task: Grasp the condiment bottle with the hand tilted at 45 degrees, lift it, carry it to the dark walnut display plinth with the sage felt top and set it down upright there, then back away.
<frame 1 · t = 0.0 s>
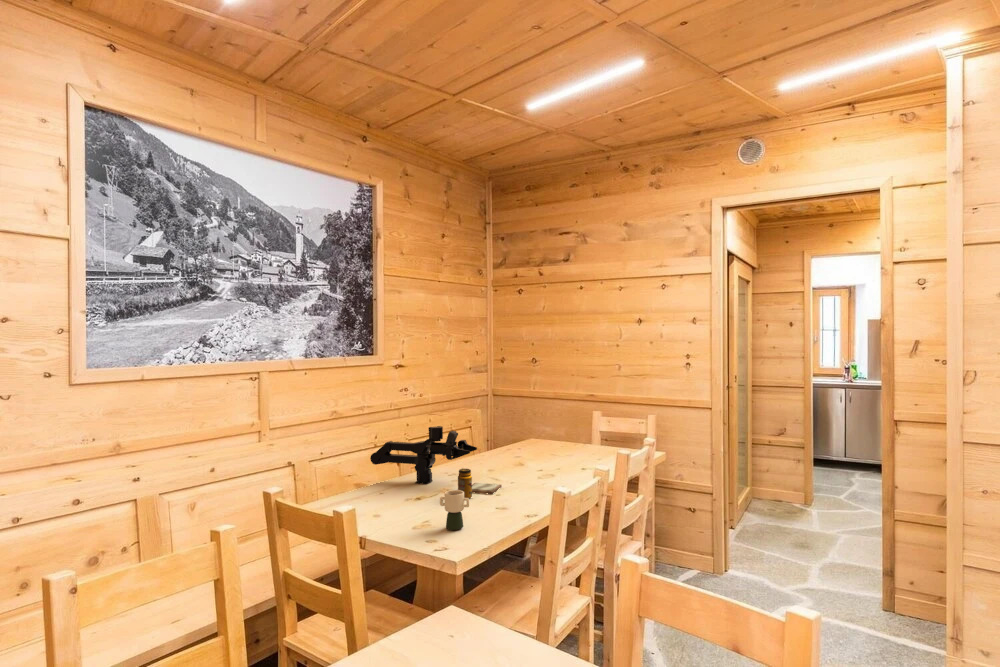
hand: (473, 450, 266), 17 cm above the table, tool horizontal, fingers open, 9 cm apart
plinth: (483, 489, 259), on the table
condiment: (463, 498, 246), on the table
character mug: (454, 529, 205), on the table
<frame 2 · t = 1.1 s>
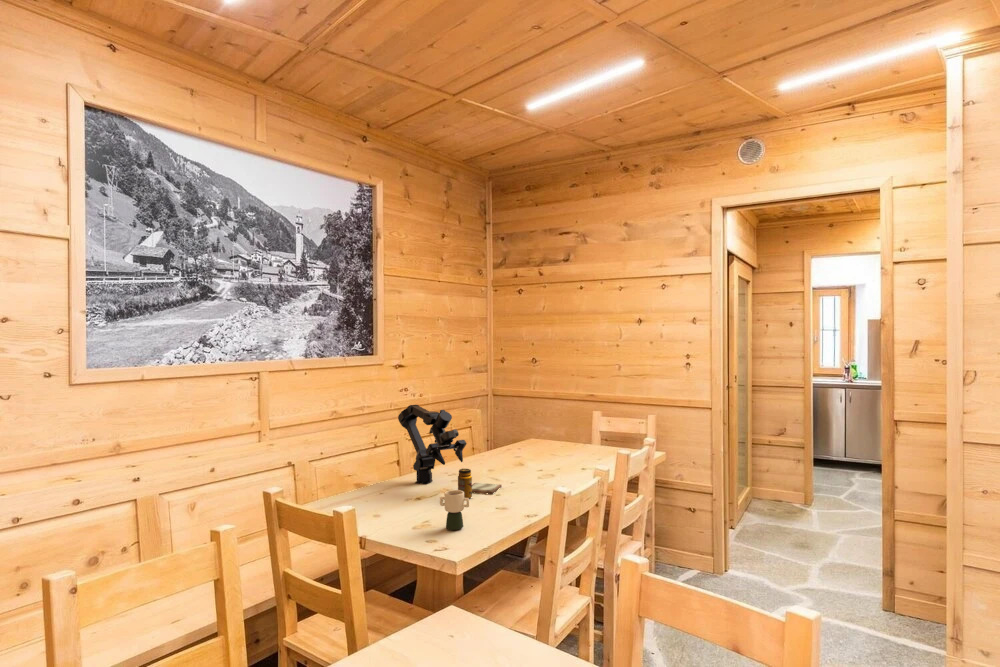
hand: (453, 463, 253), 14 cm above the table, tool tilted 45°, fingers open, 9 cm apart
nothing on the table moved.
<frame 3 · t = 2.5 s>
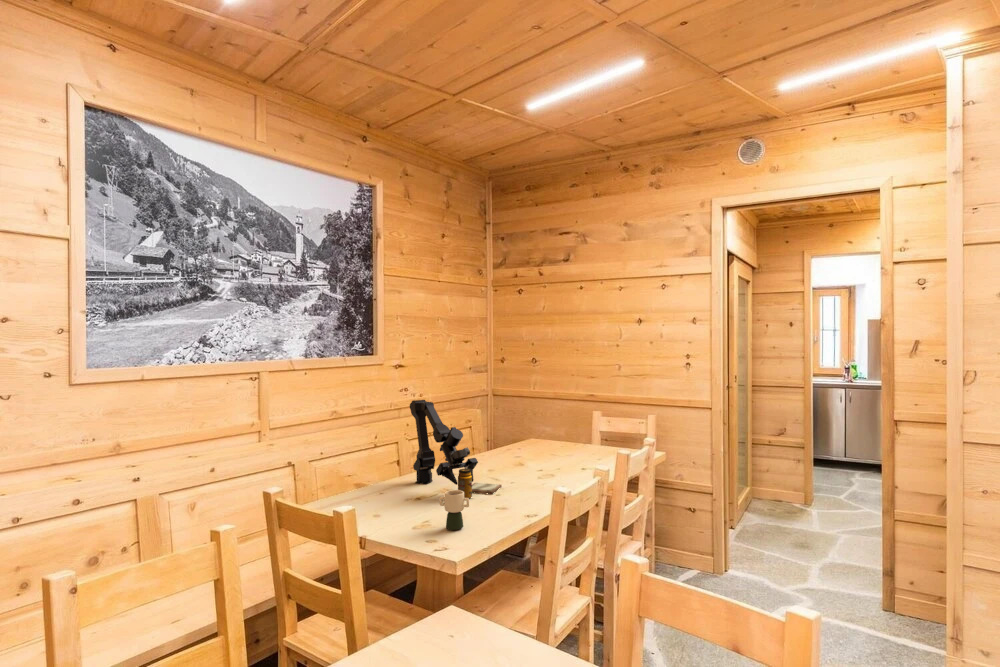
hand: (464, 482, 245), 7 cm above the table, tool tilted 45°, fingers open, 8 cm apart
condiment: (463, 498, 246), on the table, touching gripper
everything else where it was.
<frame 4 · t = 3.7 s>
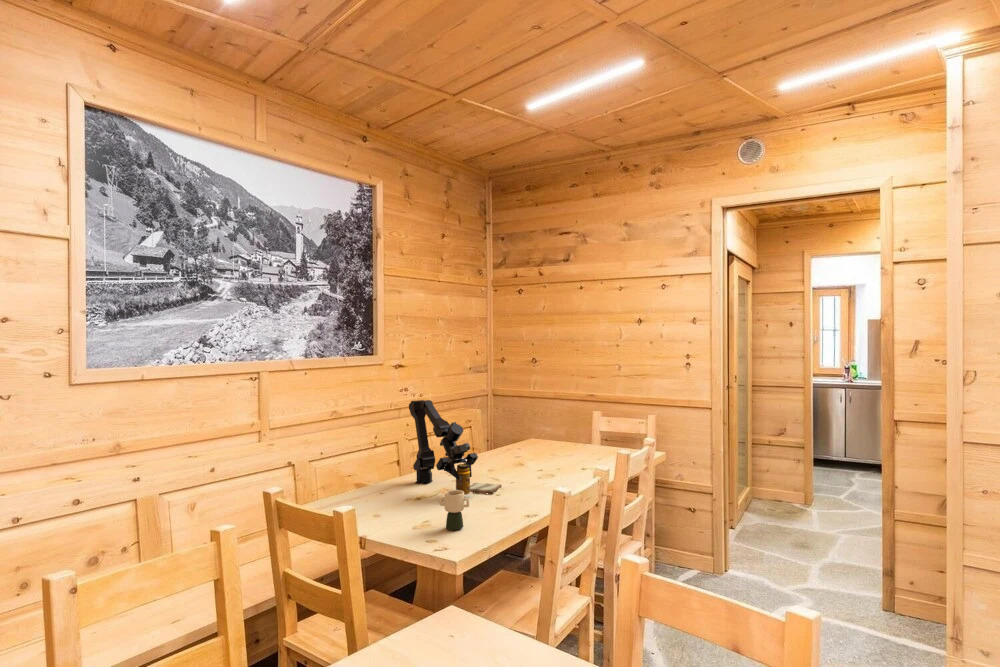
hand: (464, 477, 245), 9 cm above the table, tool tilted 45°, fingers closed on condiment, 6 cm apart
condiment: (461, 493, 246), point 2 cm above the table, touching gripper
everything else where it was.
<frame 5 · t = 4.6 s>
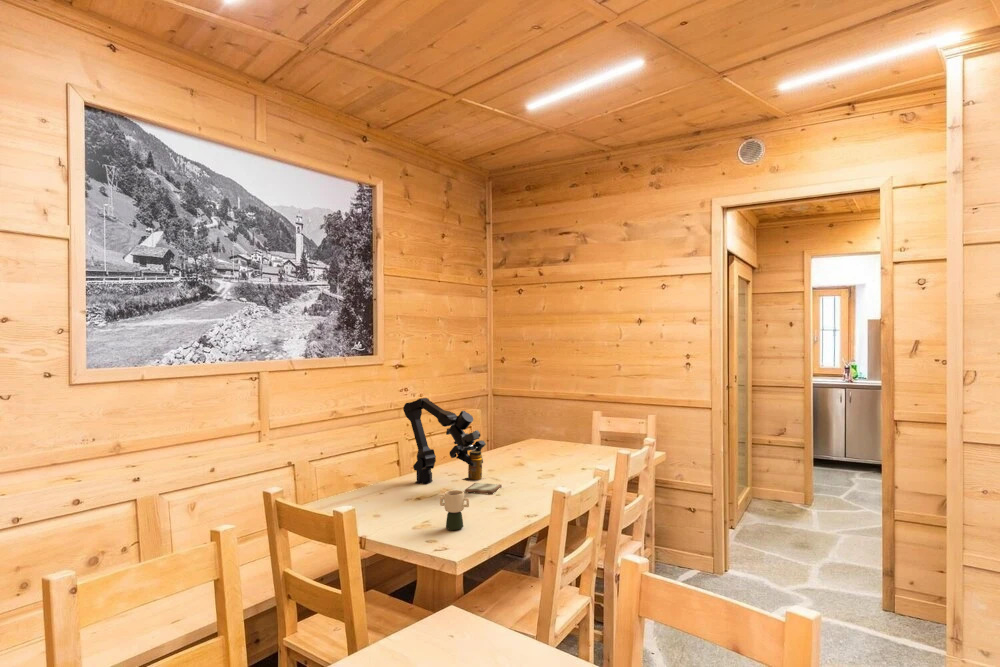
hand: (477, 464, 252), 13 cm above the table, tool tilted 45°, fingers closed on condiment, 6 cm apart
condiment: (473, 479, 252), point 6 cm above the table, touching gripper
everything else where it was.
when the fingers open (9 cm above the table, at t = 6.2 s): condiment drops 1 cm, resting on plinth.
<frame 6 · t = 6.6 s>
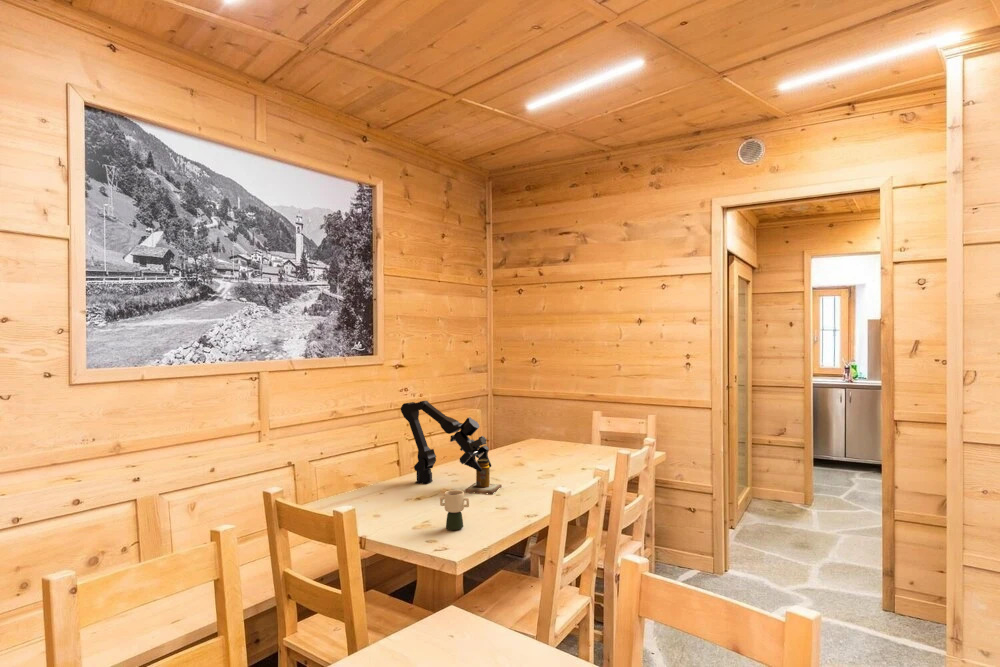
hand: (486, 468, 259), 10 cm above the table, tool tilted 45°, fingers open, 9 cm apart
condiment: (481, 487, 259), point 1 cm above the table, touching plinth
everything else where it was.
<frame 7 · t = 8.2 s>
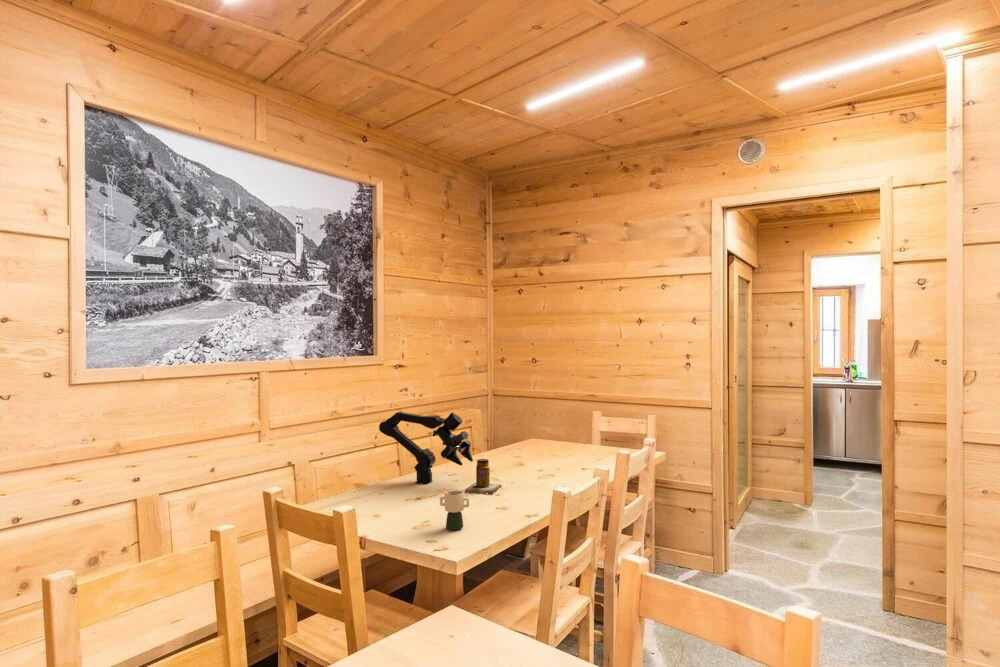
hand: (467, 463, 265), 11 cm above the table, tool tilted 45°, fingers open, 9 cm apart
nothing on the table moved.
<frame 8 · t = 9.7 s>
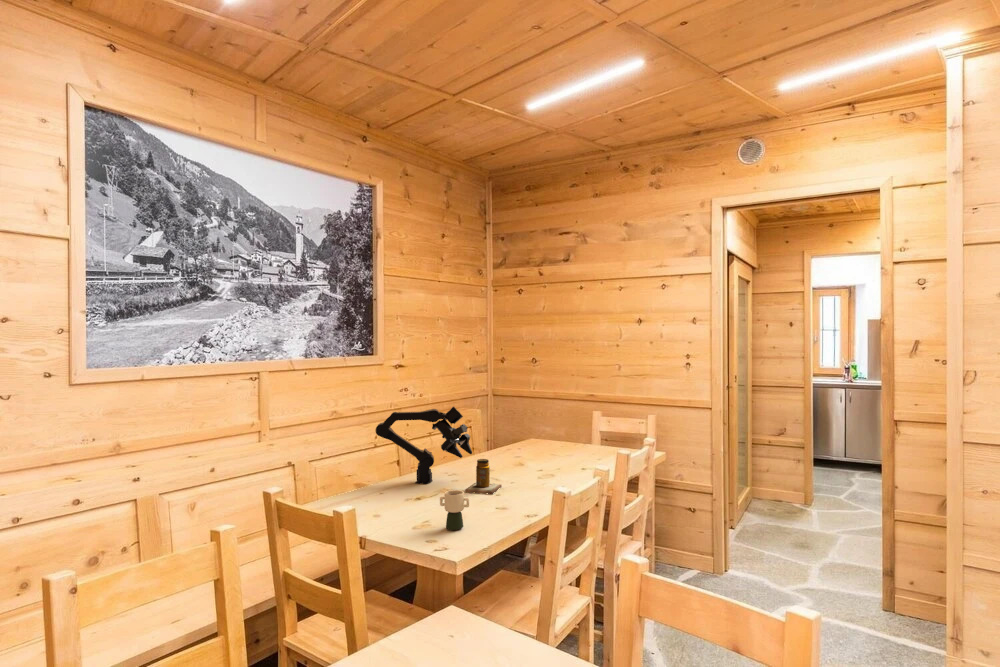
hand: (466, 455, 269), 14 cm above the table, tool tilted 45°, fingers open, 9 cm apart
nothing on the table moved.
at the end: condiment inside the target area on the plinth (0.9 cm from its centre), point 1.3 cm above the plinth's base; condiment tilted 0°; the gripper is holding nothing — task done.
